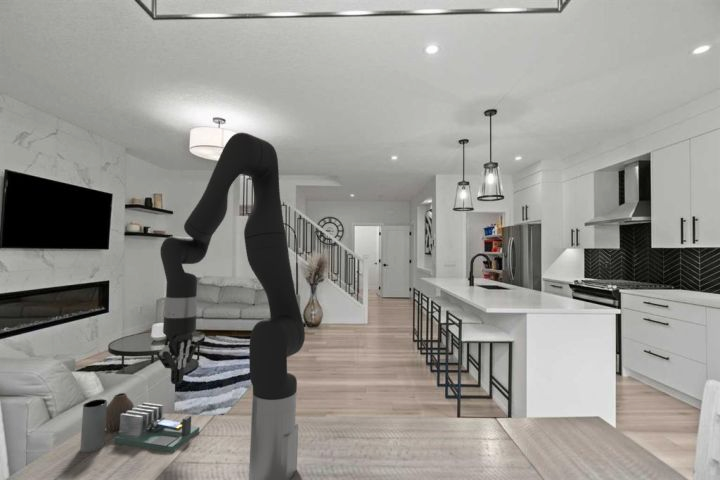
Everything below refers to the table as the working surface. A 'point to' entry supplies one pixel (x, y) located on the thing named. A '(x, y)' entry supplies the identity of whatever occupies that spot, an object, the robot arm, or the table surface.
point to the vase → (117, 411)
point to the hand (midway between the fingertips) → (177, 382)
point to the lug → (186, 425)
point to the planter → (93, 425)
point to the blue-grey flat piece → (167, 424)
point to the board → (159, 439)
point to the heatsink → (140, 420)
